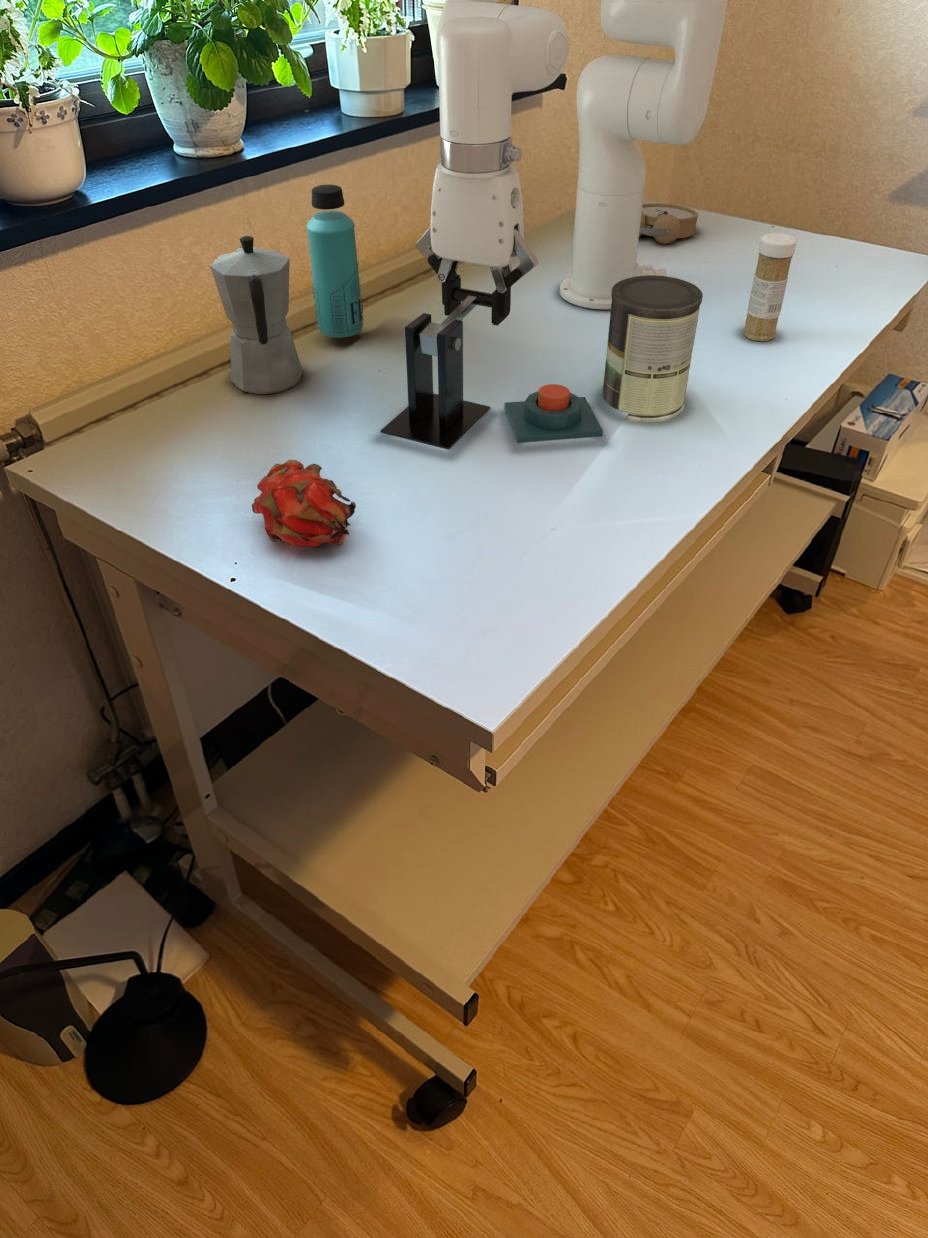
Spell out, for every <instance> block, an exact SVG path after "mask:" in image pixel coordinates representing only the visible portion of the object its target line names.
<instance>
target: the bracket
mask: <svg viewBox="0 0 928 1238" xmlns="http://www.w3.org/2000/svg"><path fill="white" fill-rule="evenodd" d="M431 322H432V314H431V313H426V312H423V313H421V314H420V315H419V316H417V317H416V318H414V320H412V321H411V322H409V323H408V324H407V325H406V326H404V338H405V341H404V342H405V361H406V381H407V383H406V384H407V405H408V406H407V407H406V408H404V409H403V410H402V411H401V412H400V413H399V414H397V415H396V416H395V417H394V418H393V419H392V420H390V421H389V422H388V423H387V424H386V425H385V426H384V427H383V428H381V430H380V431H379V432H380V433H381V434H386V435H389V436H393V437H397V438H400V439H401V438H402V439H405V440H410V441H413V442H417V443H420V444H424V445H429V446H433V447H437V448H440V449H445V450H450V449H452V447H453V446H455V445H456V443H457V442H458V441H459V440H460V439H461V438H462V437H463V436H464V435H466V433H468V431H469V430H470V429H472V427H473V426H474V425H475V424H476V423H477V422H478V421H479V420H480V419H481V418H483V416H484V415H485V414H486V413H487V412H488V411H489V410H490V409H491V406H489V405H485V404H481V403H476V402H472V401H469V400H465V399H464V320H462V321H461V320H456V319H455V320H454V321H453V322H451V323H450V324H449V325H448V326H446V327H445V328H444V329H443V330H441V331H440V332H439V333H438V334H437V350H438V357H437V388H438V391H437V392H438V394H437V393H435V392H434V369H433V355H428V354H424V353H421V348H420V336H419V333H420V332H421V331H422V330H423V329H424V328H425V327H426V326H428V325H429V324H430V323H431Z"/></svg>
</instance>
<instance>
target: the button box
mask: <svg viewBox="0 0 928 1238" xmlns="http://www.w3.org/2000/svg"><path fill="white" fill-rule="evenodd" d="M538 393H539V390H537V391H535V392H532V393H530V394H528V395H527V397H526V398H525V400H523V401H509V402H504V405H503V406H504V407H503V408H504V411H505V414H506V416H507V419H508V421H509V425H510V427H511V430H512V432H513V435H514V437H515V440H516V442H517V444H519V443H520V444H521V443H532V442H545V441H546V442H547V441H559V440H569V439H570V440H571V439H584V438H595V437H603V433H604V430H603V428H602V426H601V425H600V424H601V423H599V421H598V419H597V417H596V415H595V412H594V411H593V409H592V407H591V406H590V403H589V402H588V401H587V398H586V396H579V395H576V394H574V393H572V392H570V396H569V406H568V408H567V409H564V410H561V411H549V410H543V409H542V408H540V407H539V406H538Z"/></svg>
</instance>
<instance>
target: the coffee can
mask: <svg viewBox="0 0 928 1238" xmlns="http://www.w3.org/2000/svg"><path fill="white" fill-rule="evenodd" d="M611 297H612V303H611V309H610V313H609V314H610V315H609V324H608V335H607V343H606V344H607V347H606V354H605V355H606V356H605V364H604V375H603V384H602V398H603V400H604V402H605V403H606V404H607V405H609V406H610V407H612V408H613V409H615V410H617V411H620V412H622V413H626V414H627V415H626V417H625V418H624V420H626V421H628V422H629V421H630V422H636V423H660V422H665V421H669V420H672V419H674V418H676V417H678V416H679V415H680V414H681V413H682V412H683V411H684V409H685V401H686V400H685V399H686V393H687V387H688V382H689V374H690V369H691V364H692V363H691V362H692V355H693V351H694V345H695V338H696V332H697V328H698V327H697V325H698V320H699V314H700V307H701V305H702V302H703V297H704V295H703V292H702V290H701V289H700V288H699V287H698V286H697V285H695V284H693V283H692V282H689V281H687V280H685V279H682V278H677V277H673V276H667V275H666V276H655V275H648V276H637V277H631V278H627V279H624V280H621V281H619V282H618V283H616V284H615V285H614V286H613V288H612V292H611Z"/></svg>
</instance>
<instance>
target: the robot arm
mask: <svg viewBox="0 0 928 1238" xmlns="http://www.w3.org/2000/svg"><path fill="white" fill-rule="evenodd" d="M499 1H500V0H445V2H444V4H443V7H442V10H441V13H440V16H439V20H438V25H437V31H436V41H435V45H436V46H435V47H436V53H437V54H436V56H437V59H438V96H439V98H438V99H439V135H440V136H439V137H440V162H439V163H438V164H437V165H436V168H435V173H434V178H433V185H432V192H431V193H432V194H431V205H430V226H429V227H428V229H426V231H425V232H424V234H423V235H422V236H421V237H420V238H419V239H418V240H417V242H415V243H416V244H415V247H416V249H417V250H418V251H419V253H420V254H421V255H422V256H423V258H425V259H426V260H427V263H428V265H429V266H430V267H431V268H432V270H433V271H434V272H435V274H436V278H437V281H438V282H440V283H441V303H442V305H443V306H444V307H443V311H444V316H446V317H448V316H449V315H450V314H451V313H452V312H453V311H454V310H455V309H456V308H457V307H458V306H459V305H460V304H461V303H462V302H459V301H454V300H453V299H452V292H453V289H454V288H455V287H459V288H462V278H461V275H460V274H458V273H457V271H458V268H459V265H460V263H466V264H471V265H477V266H481V267H487V268H488V267H489V269H490V272H491V276H492V279H493V282H494V285H495V290H494V291H493V292H491V294H492V308H491V324H492V326H499V325H500V324H501V323H502V322H503V321H505V320H506V319H507V318H508V317H509V315H510V313H511V300H512V299H511V298H512V286H513V285H515V284H516V283H517V282H518V281H519V280H521V278H523V277H524V276H525V275H527V274H528V273H529V272H530V271H532V270H533V269H535V268H536V267H537V266H538V264H539V260H538V257H537V256H536V254H535V253H534V252H533V251H532V249H531V247H530V246H529V244H528V243H527V242H526V240H525V221H524V220H525V219H524V205H523V194H522V187H521V180H520V174H519V170H518V167H517V166H514V165H511V164H512V163H514V162H516V163H517V162H521V160H522V157H523V149H522V147H516V145H513V137H512V101H513V100H512V98H513V97H512V96H513V94H514V93H515V94H516V93H523V92H535V91H540V90H543V89H545V88H547V87H548V86H550V85H551V84H553V83H554V82H555V81H556V80H557V78H559V77H560V75H561V74H562V72H563V70H564V68H565V66H566V63H567V61H568V57H569V50H570V39H569V38H570V37H569V34H568V33H569V32H568V30H567V27H566V25H565V23H564V22H563V20H562V19H561V17H559V16H558V15H557V14H556V13H555V12H553V11H551V10H549V9H546V8H542V7H536V6H527V5H515V4H509V3H498V2H499ZM727 7H728V0H600V7H599V20H600V26H601V29H602V31H603V33H604V34H605V36H607V37H608V38H609V39H612V40H614V41H616V42H621V43H625V44H633V45H641V46H652V47H664V48H671V49H673V50H674V60H671V59H661V58H651V57H646V56H638V55H637V56H636V55H629V54H607V55H602V56H598V57H596V58H594V59H593V60H591V61H589V63H588V64H586V65H585V67H584V68H583V70H582V71H581V73H580V75H579V78H578V81H577V85H576V94H575V95H576V97H575V101H576V117H577V125H578V145H579V146H578V170H577V171H578V172H577V184H576V185H577V186H576V197H575V198H576V200H575V213H574V227H573V241H572V252H571V254H572V255H571V269H570V276H568V277H566V278H564V279H563V280H562V281H561V282H560V284H559V295H560V297H561V298H562V299H564V301H566V302H567V303H569V304H572V305H575V306H578V307H581V308H586V309H592V310H611V303H612V297H611V292H612V288H613V286H614V285H615V284H616V283H618V282H619V281H621V280H624V279H627V278H631V277H637V276H648V275H655V276H667V270H666V268H654V267H653V265H652V264H645V265H640V264H638V263H637V255H638V247H639V239H640V237H639V231H640V222H641V214H642V205H643V204H644V197H645V196H644V195H645V188H646V181H647V170H646V169H647V168H646V162H645V159H644V157H643V153H642V151H641V148H640V146H639V144H638V142H637V141H642V142H649V143H656V144H661V145H662V144H663V145H672V146H682V145H687V144H689V143H690V142H692V141H693V140H695V139H696V137H697V136H698V135H699V134H700V131H701V129H702V127H703V124H704V121H705V119H706V116H707V112H708V107H709V102H710V96H711V93H712V92H711V91H712V88H713V87H712V86H713V82H714V77H715V72H716V67H717V62H718V57H719V52H720V46H721V41H722V36H723V31H724V26H725V21H726V20H725V19H726V13H727ZM511 258H518V260H519V265H517V266H516V267H515V268H514V269H513V266H512V263H511Z"/></svg>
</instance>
